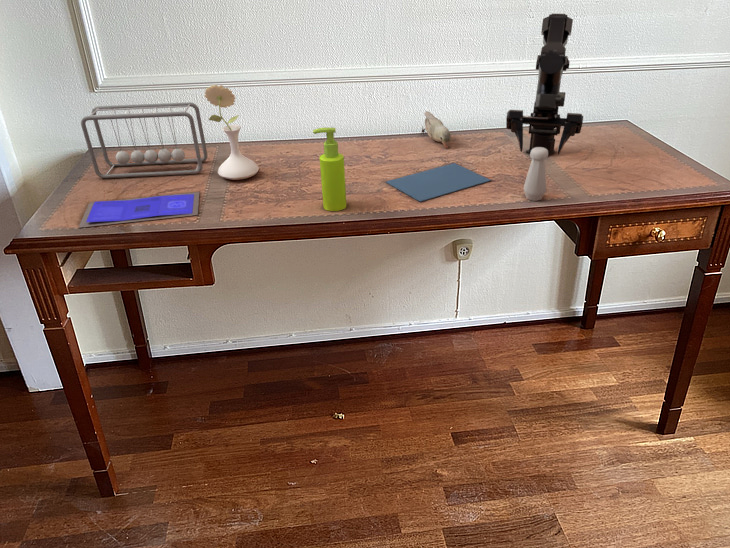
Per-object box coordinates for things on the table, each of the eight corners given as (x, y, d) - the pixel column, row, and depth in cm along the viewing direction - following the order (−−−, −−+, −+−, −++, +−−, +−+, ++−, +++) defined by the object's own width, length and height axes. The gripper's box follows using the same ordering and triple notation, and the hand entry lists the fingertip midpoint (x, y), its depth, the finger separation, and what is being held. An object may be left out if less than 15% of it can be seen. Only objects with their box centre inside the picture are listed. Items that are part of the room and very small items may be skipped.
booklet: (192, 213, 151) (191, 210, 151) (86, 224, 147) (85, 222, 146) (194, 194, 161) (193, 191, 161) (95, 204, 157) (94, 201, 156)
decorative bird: (439, 150, 187) (440, 125, 182) (418, 134, 199) (418, 111, 195) (455, 147, 188) (456, 123, 184) (433, 132, 201) (433, 109, 196)
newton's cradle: (96, 179, 171) (77, 117, 162) (107, 166, 180) (90, 106, 170) (203, 174, 173) (191, 112, 164) (209, 161, 182) (198, 101, 172)
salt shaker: (546, 194, 157) (553, 146, 150) (544, 203, 153) (550, 153, 145) (524, 192, 159) (529, 143, 151) (520, 200, 154) (526, 151, 147)
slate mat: (454, 163, 177) (454, 162, 176) (490, 181, 165) (490, 180, 165) (385, 182, 166) (385, 181, 166) (420, 202, 155) (420, 201, 154)
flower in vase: (267, 171, 174) (255, 82, 160) (243, 186, 165) (229, 92, 152) (230, 165, 179) (215, 78, 165) (205, 179, 170) (188, 88, 156)
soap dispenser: (319, 202, 156) (312, 125, 145) (346, 200, 156) (341, 124, 145) (319, 212, 151) (312, 133, 140) (346, 210, 151) (342, 131, 140)
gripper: (510, 77, 150) (502, 134, 147) (589, 80, 145) (581, 139, 143) (510, 100, 160) (502, 155, 158) (583, 104, 156) (576, 160, 153)
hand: (539, 152), depth 152 cm, fingers open, 9 cm apart
